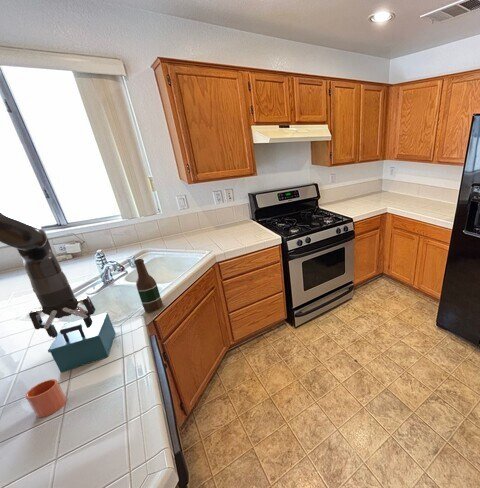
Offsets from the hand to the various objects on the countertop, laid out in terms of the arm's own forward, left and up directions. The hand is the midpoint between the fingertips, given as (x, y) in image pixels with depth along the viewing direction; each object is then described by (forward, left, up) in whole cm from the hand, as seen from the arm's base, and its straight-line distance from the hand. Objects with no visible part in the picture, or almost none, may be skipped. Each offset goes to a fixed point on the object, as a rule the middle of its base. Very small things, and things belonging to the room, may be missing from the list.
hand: (72, 331), depth 86 cm
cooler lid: (0, +6, -4) cm, 7 cm away
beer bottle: (+19, +27, -13) cm, 36 cm away
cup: (-4, -18, -13) cm, 22 cm away
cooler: (0, +6, -13) cm, 14 cm away
